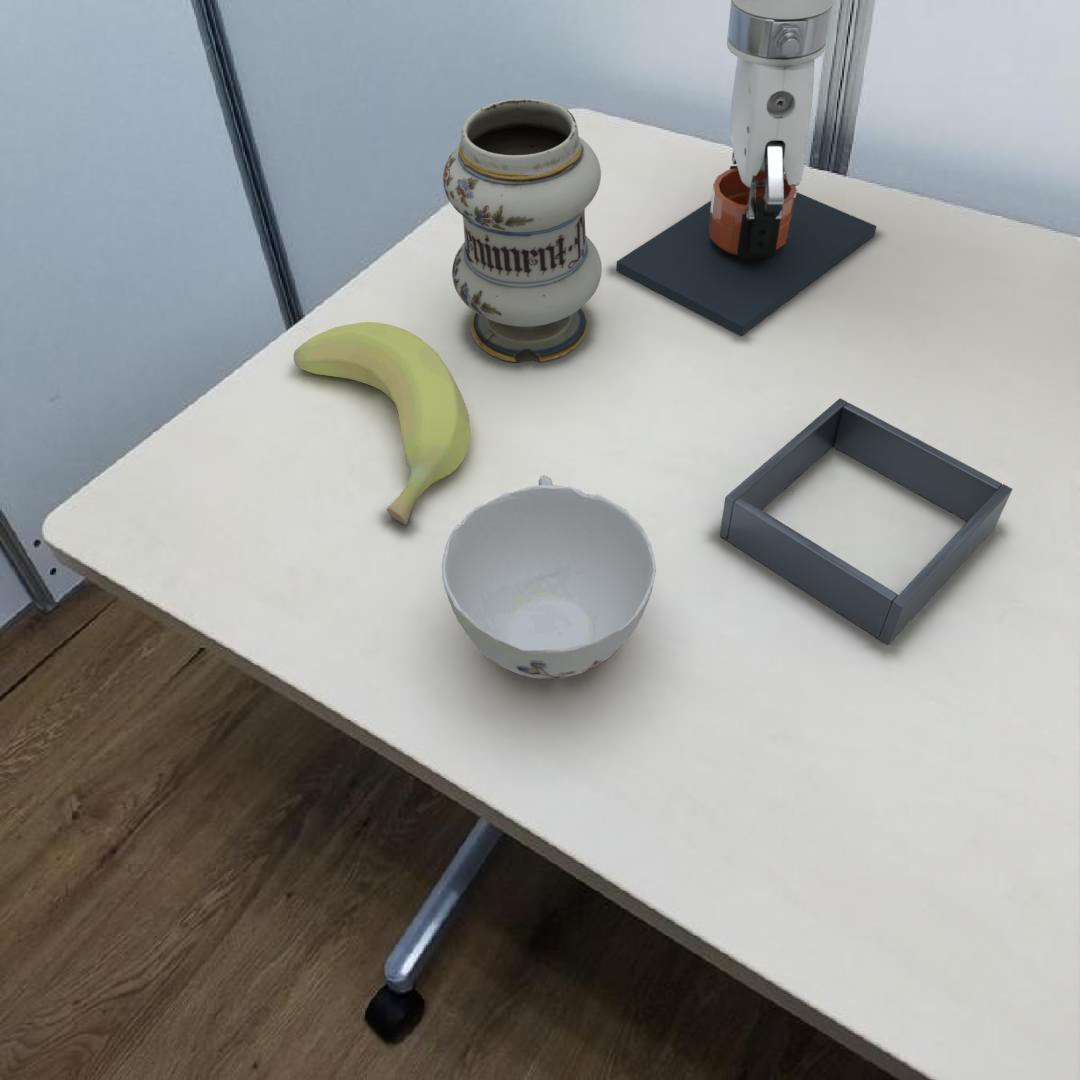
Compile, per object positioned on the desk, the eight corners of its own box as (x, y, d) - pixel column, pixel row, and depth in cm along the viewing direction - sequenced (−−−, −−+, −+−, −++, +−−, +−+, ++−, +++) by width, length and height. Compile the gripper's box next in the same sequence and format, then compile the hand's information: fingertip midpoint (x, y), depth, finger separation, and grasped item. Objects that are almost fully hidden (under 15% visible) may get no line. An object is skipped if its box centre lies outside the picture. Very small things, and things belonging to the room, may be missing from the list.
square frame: (829, 437, 76) (840, 397, 73) (994, 528, 70) (1013, 488, 67) (719, 536, 70) (724, 496, 67) (887, 645, 64) (902, 607, 61)
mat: (751, 182, 100) (752, 173, 99) (874, 235, 93) (876, 225, 93) (616, 270, 91) (616, 261, 90) (741, 336, 84) (742, 326, 84)
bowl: (740, 207, 94) (746, 157, 90) (802, 236, 91) (812, 185, 87) (692, 239, 91) (697, 188, 87) (755, 269, 88) (763, 218, 84)
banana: (439, 276, 79) (461, 479, 68) (463, 324, 84) (487, 521, 72) (279, 327, 81) (276, 531, 70) (311, 371, 86) (312, 570, 75)
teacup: (657, 721, 61) (665, 644, 55) (450, 727, 61) (435, 651, 55) (638, 532, 71) (643, 450, 65) (459, 538, 71) (448, 456, 65)
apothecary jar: (462, 379, 82) (437, 173, 68) (456, 291, 90) (433, 90, 76) (610, 366, 82) (615, 159, 69) (591, 279, 90) (592, 78, 77)
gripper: (851, 76, 71) (808, 287, 85) (807, -22, 83) (775, 178, 96) (744, 79, 71) (718, 290, 85) (715, -19, 83) (696, 181, 96)
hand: (749, 229), depth 90 cm, fingers closed on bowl, 7 cm apart
